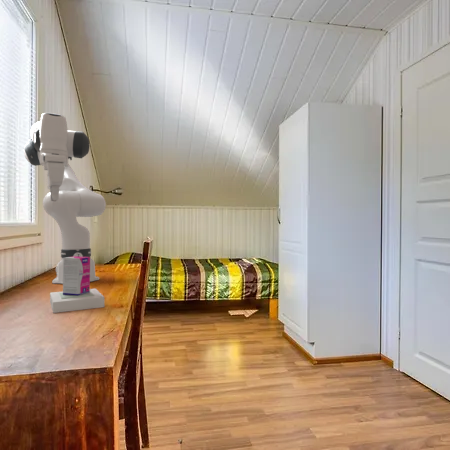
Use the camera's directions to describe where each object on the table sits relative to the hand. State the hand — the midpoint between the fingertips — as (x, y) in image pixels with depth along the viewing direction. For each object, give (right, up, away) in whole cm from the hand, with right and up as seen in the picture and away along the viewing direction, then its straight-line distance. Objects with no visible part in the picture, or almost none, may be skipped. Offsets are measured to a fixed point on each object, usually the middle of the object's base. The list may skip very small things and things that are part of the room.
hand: (54, 200), depth 121 cm
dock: (+12, -33, -11) cm, 37 cm away
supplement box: (+12, -30, -11) cm, 34 cm away
